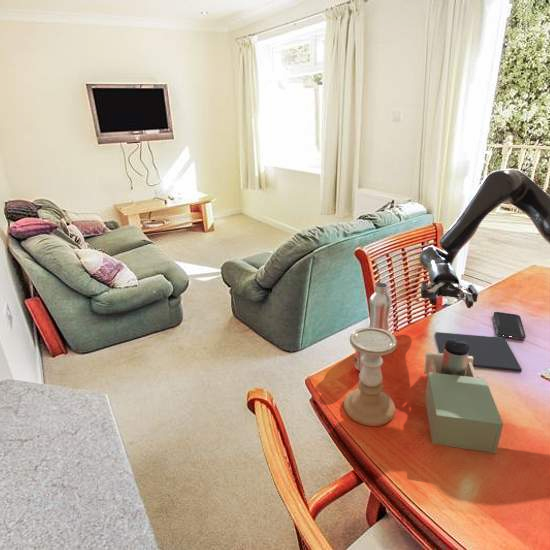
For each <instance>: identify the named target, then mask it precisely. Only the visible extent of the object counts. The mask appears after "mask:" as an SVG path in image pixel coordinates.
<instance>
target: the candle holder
mask: <svg viewBox="0 0 550 550" xmlns="http://www.w3.org/2000/svg"><path fill="white" fill-rule="evenodd" d="M349 343H350V346H351V347H352V348H353V349H354V350H357V351H359V352H361V353H363V354H364V355H363V356H362V357H361V362H362V363H363V366H362V369H361V371H359V374H358V379H359V381H358V382H357V388H355V389H352V390H351V391H349V392H348V393H347V394H346V396H345V397H344V399H343V408H344V412H345V413H346V414H347V416H348V417H349V418H350V419H351V420H353V421H354V422H356V423H358V424H359V425H363V426H368V427H380V426H383V425H386V424H388V423H390V422H391V420H392V419H393V418H394V416H395V413H396V405H395V403H394V401H393V399H392V398H391V397H390V396H389V395H388V394H387V393H385V392H384V391H383V389H384V386H383V383H382V382H383V379H384V377H383V373H382V370H381V367H382V365H383V363H384V360H383V357H382V356H386V355H389V354H391V353H393V352H394V351H396V348H397V346H398V341H397V338H396V336H395V335H394V334H392V333H391V332H390V331H389V332H388V331H386V330H383V329H379V328H371V327H361V328H358V329H356V330H354V331H352V333H351V334H350V335H349Z"/></svg>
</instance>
